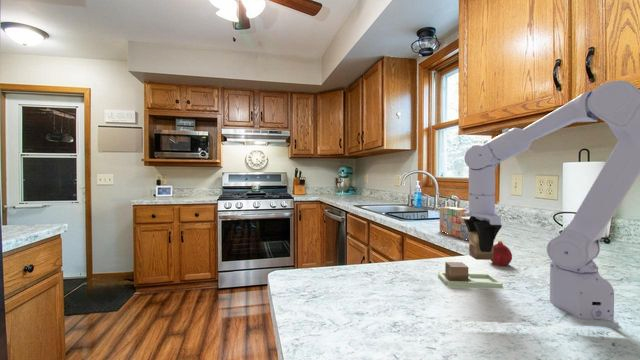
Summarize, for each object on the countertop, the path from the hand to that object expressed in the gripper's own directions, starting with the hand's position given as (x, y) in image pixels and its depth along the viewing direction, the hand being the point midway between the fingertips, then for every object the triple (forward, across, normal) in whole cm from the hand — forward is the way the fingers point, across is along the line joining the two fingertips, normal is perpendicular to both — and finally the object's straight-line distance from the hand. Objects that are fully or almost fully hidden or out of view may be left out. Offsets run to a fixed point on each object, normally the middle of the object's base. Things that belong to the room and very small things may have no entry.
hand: (481, 249), depth 72 cm
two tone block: (+2, 0, 0) cm, 2 cm away
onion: (+9, -14, +11) cm, 20 cm away
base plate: (+9, +1, -3) cm, 10 cm away
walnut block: (+8, +1, -6) cm, 10 cm away
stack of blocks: (+9, -59, +17) cm, 62 cm away
